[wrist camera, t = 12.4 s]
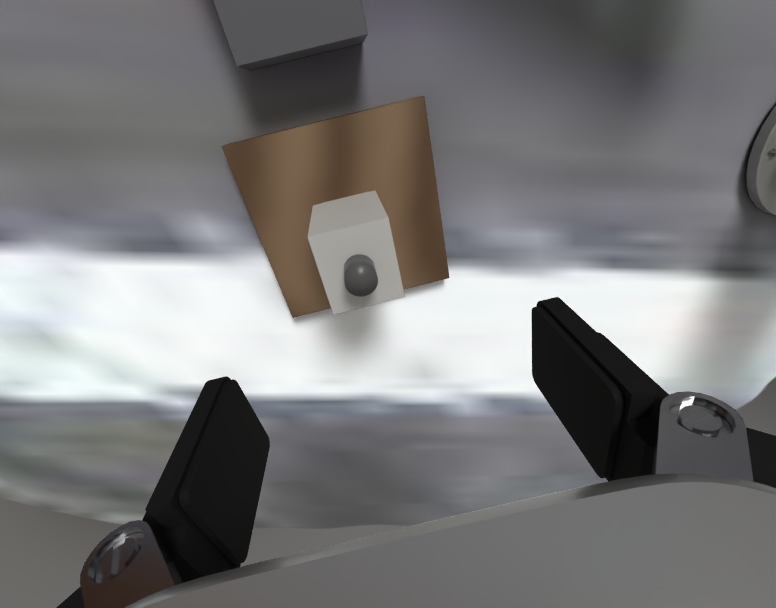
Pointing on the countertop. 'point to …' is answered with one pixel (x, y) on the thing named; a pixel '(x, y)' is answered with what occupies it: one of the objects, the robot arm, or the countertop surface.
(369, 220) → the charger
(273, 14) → the power strip
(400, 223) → the walnut board
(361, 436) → the countertop surface
